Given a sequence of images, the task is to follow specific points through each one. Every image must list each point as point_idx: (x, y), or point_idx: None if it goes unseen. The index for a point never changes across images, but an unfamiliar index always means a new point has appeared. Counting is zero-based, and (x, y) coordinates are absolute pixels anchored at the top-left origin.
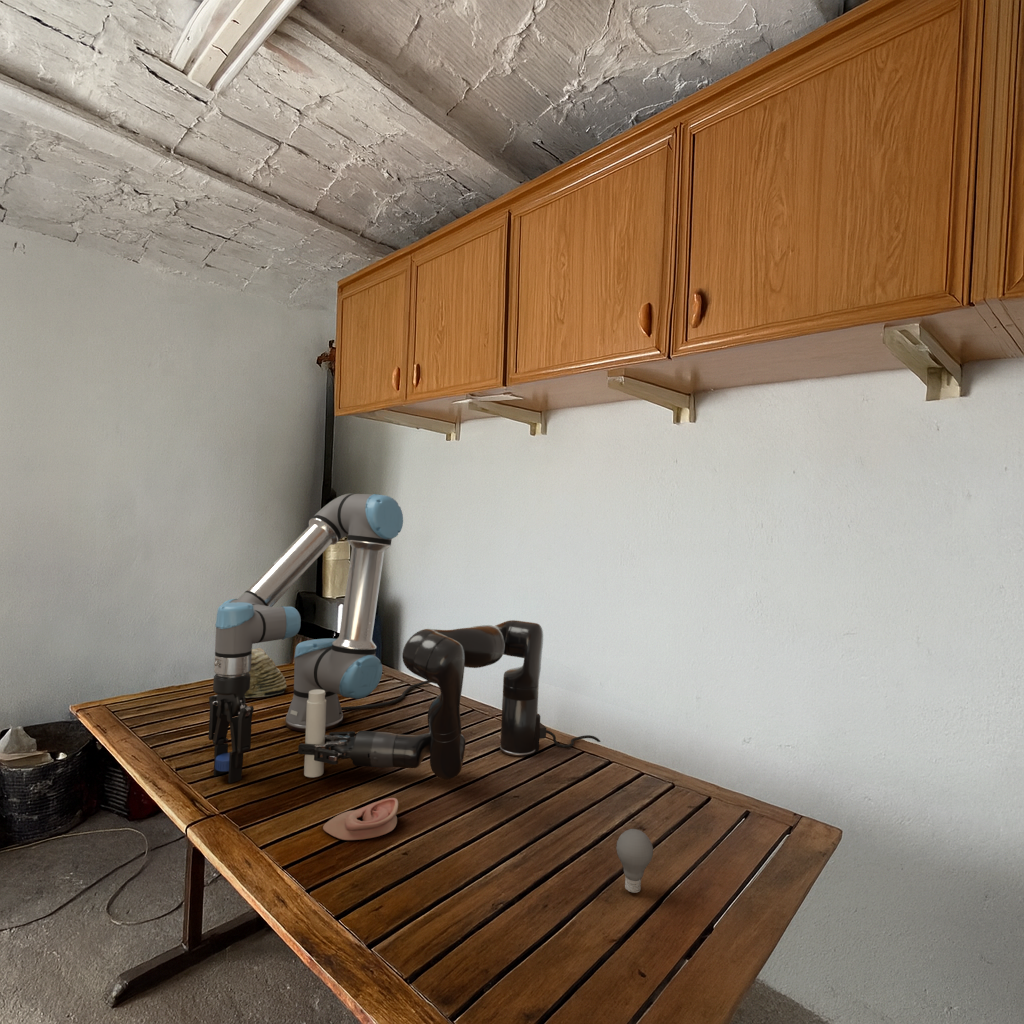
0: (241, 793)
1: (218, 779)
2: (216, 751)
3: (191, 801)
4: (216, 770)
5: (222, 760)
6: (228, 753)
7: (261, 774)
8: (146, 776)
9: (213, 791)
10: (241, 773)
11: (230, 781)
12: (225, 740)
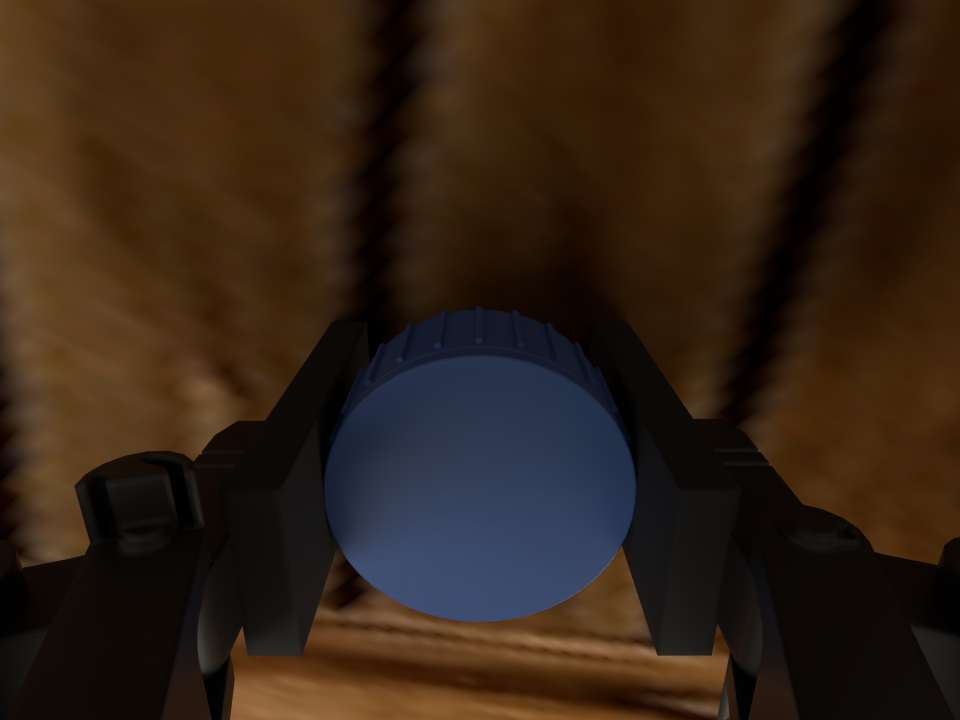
0: (856, 468)
1: None
2: (315, 604)
3: (636, 712)
4: None
5: (538, 597)
6: (377, 441)
7: (701, 110)
8: None
9: (627, 571)
10: (642, 347)
11: None
12: (203, 537)
